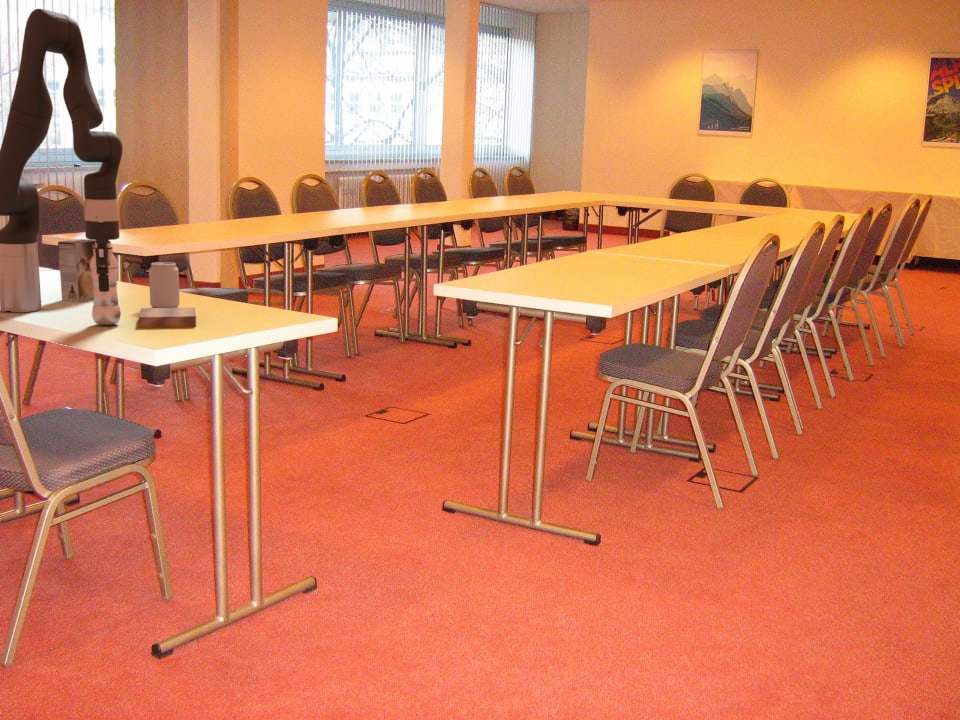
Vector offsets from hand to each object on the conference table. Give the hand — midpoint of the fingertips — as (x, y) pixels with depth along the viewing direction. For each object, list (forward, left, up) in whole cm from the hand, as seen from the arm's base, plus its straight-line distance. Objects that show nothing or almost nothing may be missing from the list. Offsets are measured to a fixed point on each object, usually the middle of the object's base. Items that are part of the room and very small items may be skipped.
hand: (105, 289), depth 238 cm
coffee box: (-9, +41, -9) cm, 43 cm away
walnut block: (+14, +2, -9) cm, 17 cm away
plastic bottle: (0, 0, -9) cm, 9 cm away
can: (+13, +24, -9) cm, 29 cm away
